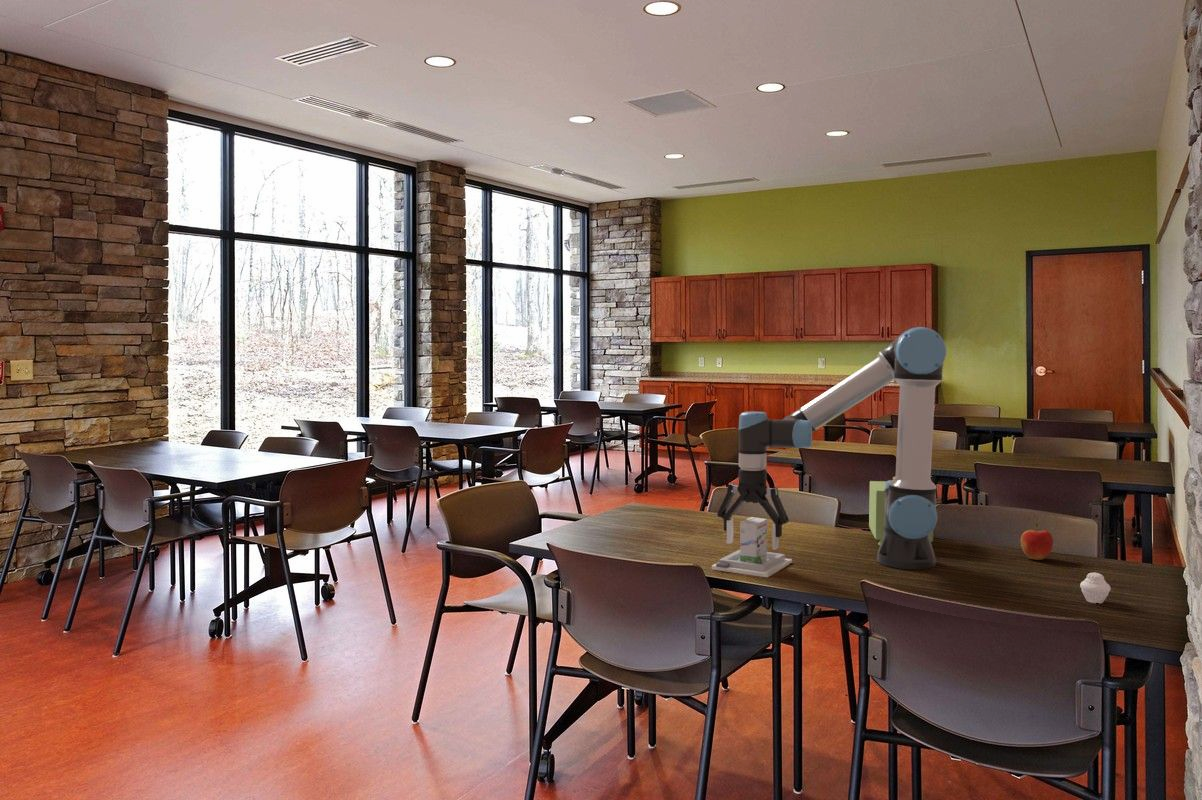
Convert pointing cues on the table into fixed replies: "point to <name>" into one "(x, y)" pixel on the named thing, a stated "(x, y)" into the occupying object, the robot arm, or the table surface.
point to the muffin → (1095, 588)
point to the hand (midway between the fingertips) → (752, 545)
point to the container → (879, 510)
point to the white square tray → (752, 564)
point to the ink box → (753, 540)
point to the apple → (1036, 544)
